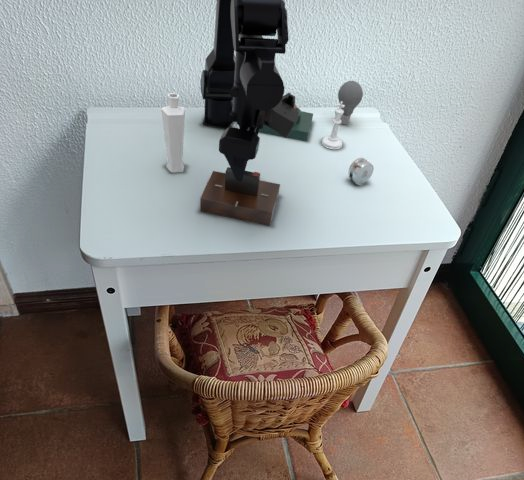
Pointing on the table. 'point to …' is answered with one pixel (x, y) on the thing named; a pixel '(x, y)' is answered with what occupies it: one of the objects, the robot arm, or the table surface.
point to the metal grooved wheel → (360, 171)
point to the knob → (243, 182)
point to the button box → (296, 127)
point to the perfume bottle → (174, 133)
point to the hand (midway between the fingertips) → (244, 167)
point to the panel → (239, 201)
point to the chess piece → (334, 131)
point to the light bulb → (349, 98)
